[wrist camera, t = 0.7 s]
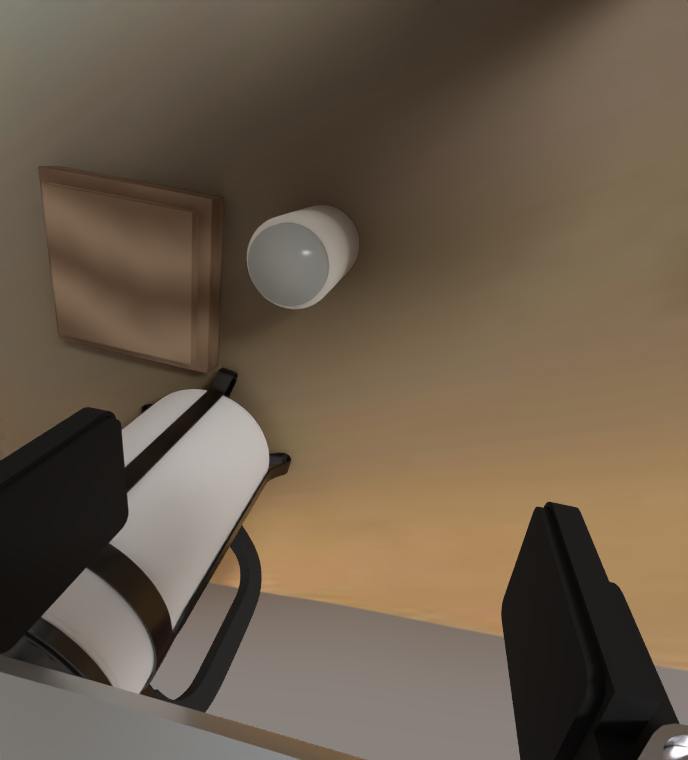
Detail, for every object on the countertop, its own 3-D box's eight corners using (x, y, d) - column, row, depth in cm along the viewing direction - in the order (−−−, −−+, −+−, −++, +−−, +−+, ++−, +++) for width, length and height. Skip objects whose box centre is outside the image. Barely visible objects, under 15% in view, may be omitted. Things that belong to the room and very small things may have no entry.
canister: (291, 198, 35) (244, 208, 27) (365, 212, 34) (339, 226, 26) (283, 273, 37) (239, 302, 30) (353, 287, 37) (325, 321, 29)
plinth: (57, 166, 38) (27, 166, 35) (224, 197, 36) (205, 200, 33) (75, 331, 44) (50, 342, 41) (217, 364, 42) (201, 378, 39)
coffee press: (134, 468, 49) (-244, 831, 23) (161, 335, 42) (-348, 636, 15) (287, 537, 49) (87, 990, 22) (341, 415, 42) (140, 867, 15)
